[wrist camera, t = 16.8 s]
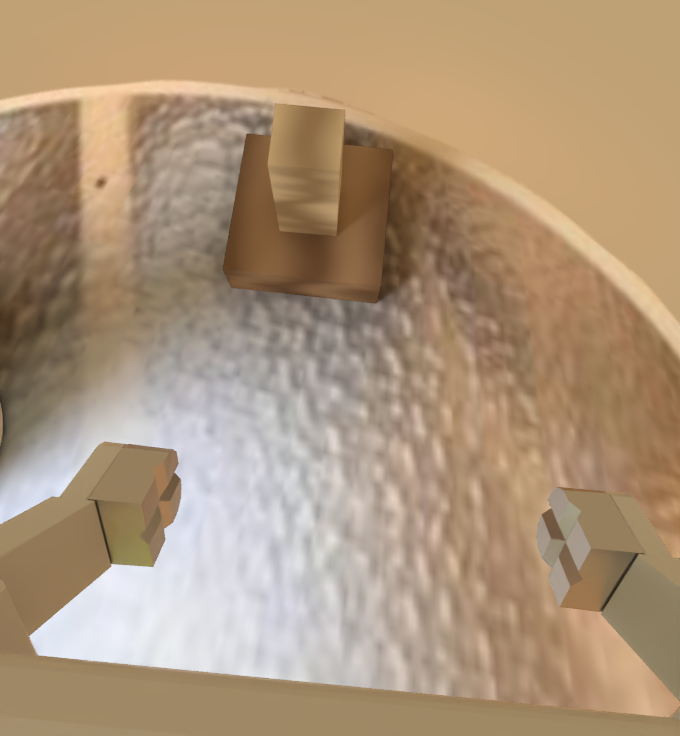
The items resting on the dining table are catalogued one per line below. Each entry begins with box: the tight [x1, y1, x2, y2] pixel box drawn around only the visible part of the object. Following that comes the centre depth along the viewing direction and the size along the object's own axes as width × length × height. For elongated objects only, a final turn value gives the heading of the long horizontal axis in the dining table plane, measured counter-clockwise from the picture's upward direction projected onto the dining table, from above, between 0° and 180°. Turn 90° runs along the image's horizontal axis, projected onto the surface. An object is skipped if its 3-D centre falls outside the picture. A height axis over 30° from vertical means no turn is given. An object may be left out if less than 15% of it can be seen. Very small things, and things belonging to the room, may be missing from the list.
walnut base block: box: [223, 134, 393, 303], centre depth 39 cm, size 12×12×4 cm
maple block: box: [267, 104, 345, 236], centre depth 34 cm, size 4×4×8 cm
